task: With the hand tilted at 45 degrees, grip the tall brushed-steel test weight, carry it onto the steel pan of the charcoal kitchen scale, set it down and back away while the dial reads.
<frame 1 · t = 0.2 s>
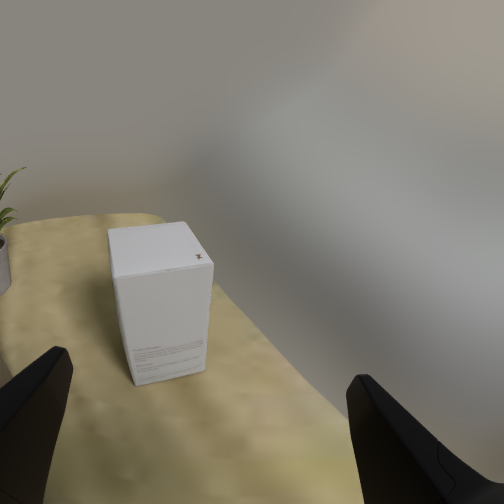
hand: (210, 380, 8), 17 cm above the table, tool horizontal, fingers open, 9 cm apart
supplement box: (159, 354, 29), on the table
steel test weight: (1, 406, 17), on the table
house plant: (1, 281, 31), on the table
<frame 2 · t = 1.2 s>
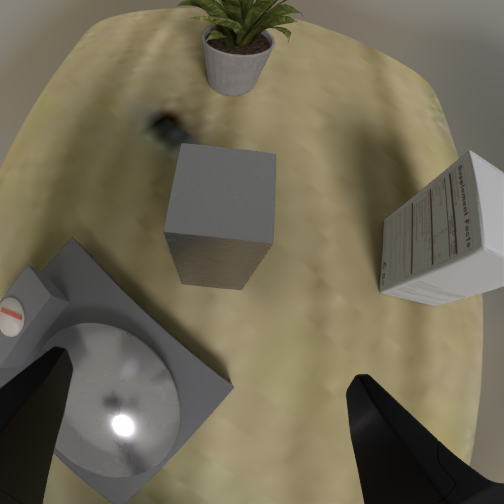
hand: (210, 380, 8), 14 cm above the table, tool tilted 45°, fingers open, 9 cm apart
supplement box: (409, 264, 26), on the table
scale base: (92, 378, 19), on the table
steel test weight: (214, 258, 23), on the table
scale pan: (100, 403, 16), point 3 cm above the table, slide at -0.3 cm
house plant: (239, 77, 30), on the table
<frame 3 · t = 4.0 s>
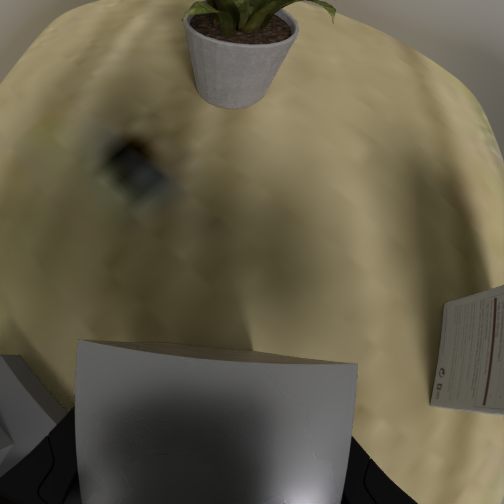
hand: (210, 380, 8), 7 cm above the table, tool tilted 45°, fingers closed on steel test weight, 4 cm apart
supplement box: (466, 357, 17), on the table
steel test weight: (206, 390, 14), on the table, touching gripper
house plant: (243, 79, 21), on the table
when the fingers open (11 cm above the table, at t = 8.5 s): steel test weight drops 1 cm, resting on scale pan.
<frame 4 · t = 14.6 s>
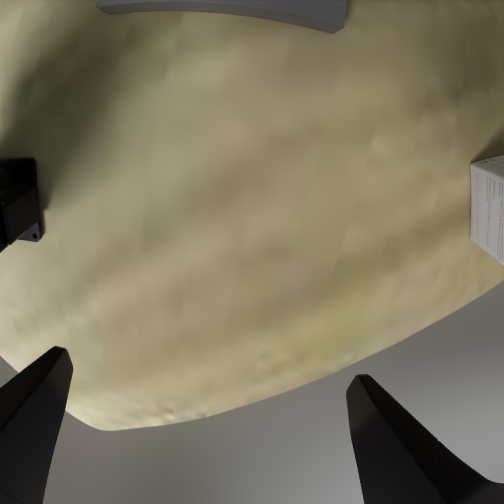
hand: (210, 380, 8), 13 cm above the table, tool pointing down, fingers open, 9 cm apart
supplement box: (494, 192, 20), on the table
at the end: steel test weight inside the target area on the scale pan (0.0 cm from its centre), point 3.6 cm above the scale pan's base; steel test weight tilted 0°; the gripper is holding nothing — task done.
